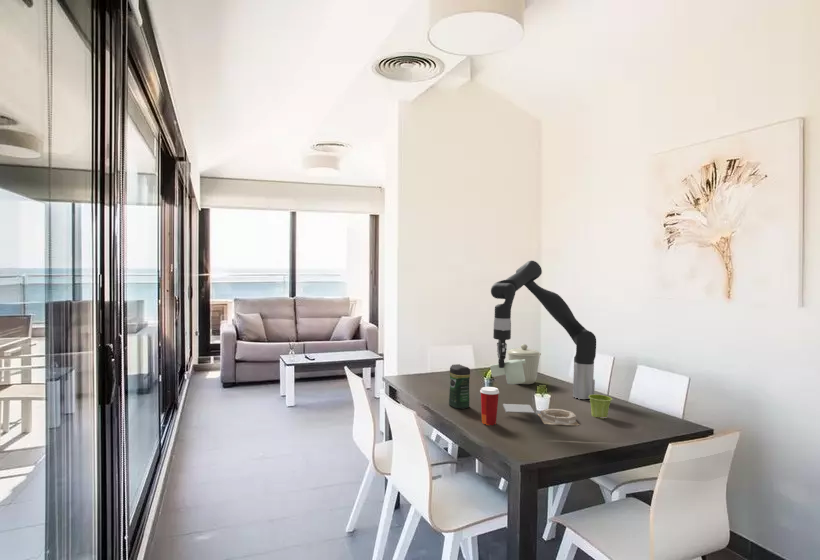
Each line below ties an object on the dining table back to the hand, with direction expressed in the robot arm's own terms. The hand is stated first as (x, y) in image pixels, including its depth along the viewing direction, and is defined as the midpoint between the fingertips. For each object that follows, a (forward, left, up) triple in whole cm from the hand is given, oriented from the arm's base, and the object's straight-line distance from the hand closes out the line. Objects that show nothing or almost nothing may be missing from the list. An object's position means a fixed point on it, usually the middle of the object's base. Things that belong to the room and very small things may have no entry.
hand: (501, 367), depth 221 cm
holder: (-22, +14, -19) cm, 32 cm away
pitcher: (-4, 0, -7) cm, 8 cm away
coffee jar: (+18, -2, -19) cm, 26 cm away
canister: (-19, -54, -19) cm, 60 cm away
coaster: (-8, 0, -19) cm, 20 cm away
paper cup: (+7, +21, -19) cm, 29 cm away
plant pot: (-41, +7, -19) cm, 46 cm away
